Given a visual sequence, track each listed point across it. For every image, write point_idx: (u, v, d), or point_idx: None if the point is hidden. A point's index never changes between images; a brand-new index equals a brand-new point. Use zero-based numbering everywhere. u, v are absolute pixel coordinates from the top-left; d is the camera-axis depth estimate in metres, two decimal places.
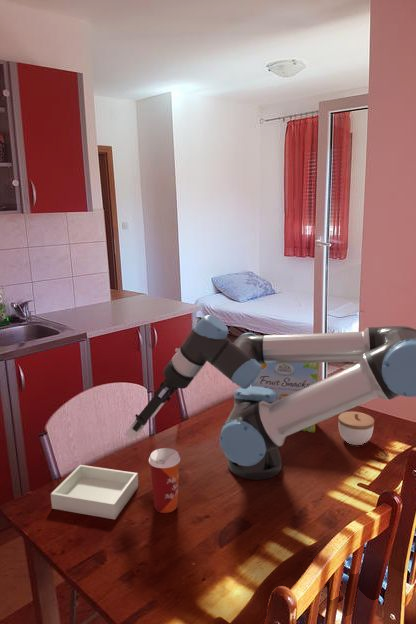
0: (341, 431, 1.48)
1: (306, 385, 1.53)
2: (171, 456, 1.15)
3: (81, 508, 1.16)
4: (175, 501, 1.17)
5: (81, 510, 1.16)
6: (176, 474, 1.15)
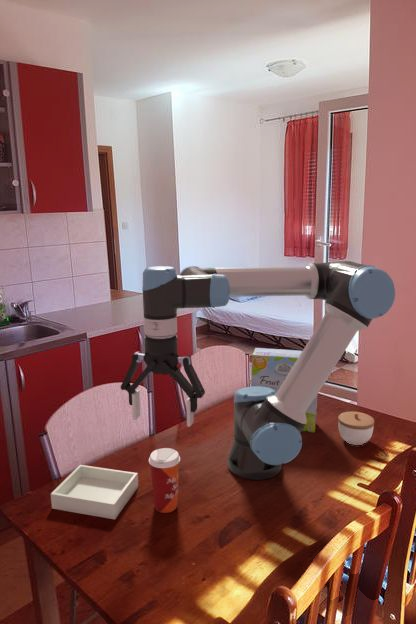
0: (341, 431, 1.48)
1: None
2: (171, 456, 1.15)
3: (81, 508, 1.16)
4: (175, 501, 1.17)
5: (81, 510, 1.16)
6: (176, 474, 1.15)
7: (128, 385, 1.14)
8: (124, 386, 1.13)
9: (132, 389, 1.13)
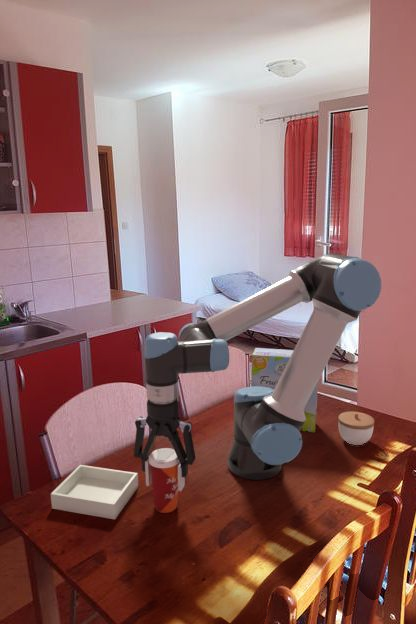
0: (341, 431, 1.48)
1: None
2: (171, 456, 1.15)
3: (81, 508, 1.16)
4: (175, 501, 1.17)
5: (81, 510, 1.16)
6: (176, 474, 1.15)
7: (141, 452, 1.17)
8: (137, 453, 1.16)
9: (144, 456, 1.16)
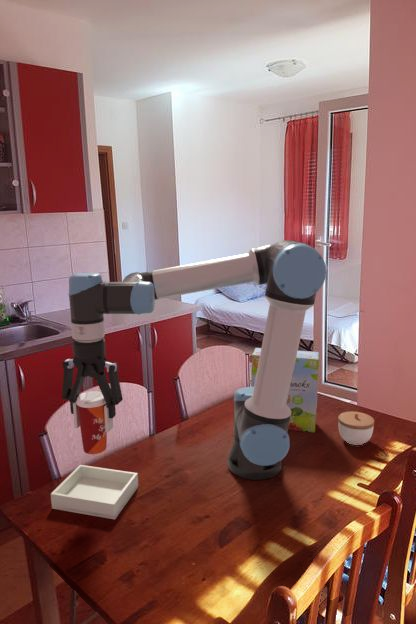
0: (341, 431, 1.48)
1: (306, 385, 1.53)
2: (98, 397, 1.15)
3: (81, 508, 1.16)
4: (103, 443, 1.17)
5: (81, 510, 1.16)
6: (103, 415, 1.16)
7: None
8: (65, 395, 1.17)
9: (72, 397, 1.16)
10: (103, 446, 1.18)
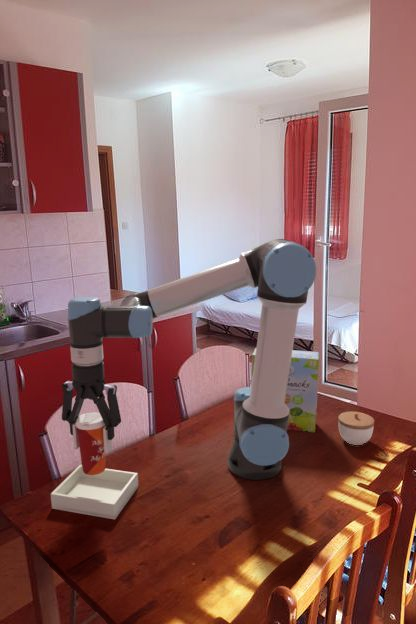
0: (341, 431, 1.48)
1: (306, 385, 1.53)
2: (97, 419, 1.17)
3: (81, 508, 1.16)
4: (102, 464, 1.19)
5: (81, 510, 1.16)
6: (102, 437, 1.17)
7: (69, 416, 1.19)
8: (64, 417, 1.18)
9: (72, 419, 1.18)
10: (102, 467, 1.19)
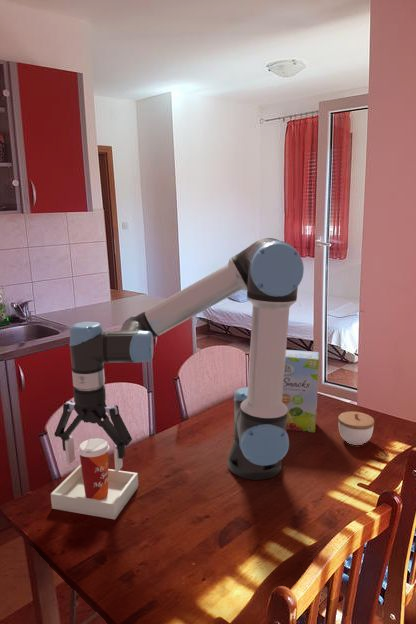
0: (341, 431, 1.48)
1: (306, 385, 1.53)
2: (99, 446, 1.18)
3: (81, 508, 1.16)
4: (104, 489, 1.20)
5: (81, 510, 1.16)
6: (104, 463, 1.19)
7: (62, 432, 1.21)
8: (57, 433, 1.20)
9: (65, 436, 1.20)
10: (104, 493, 1.21)
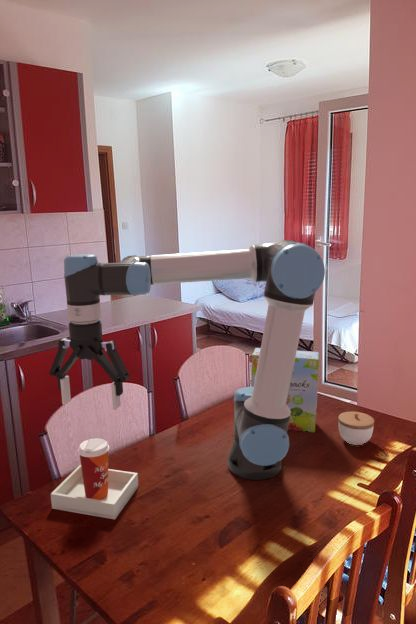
0: (341, 431, 1.48)
1: (306, 385, 1.53)
2: (99, 446, 1.18)
3: (81, 508, 1.16)
4: (104, 490, 1.20)
5: (81, 510, 1.16)
6: (104, 463, 1.19)
7: (57, 371, 1.17)
8: (53, 372, 1.16)
9: (60, 374, 1.16)
10: (104, 493, 1.21)
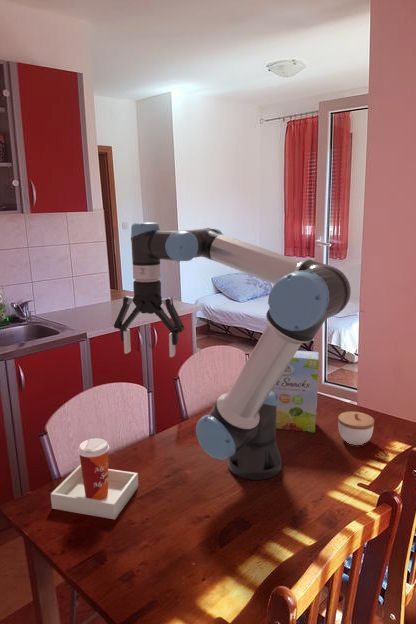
0: (341, 431, 1.48)
1: (306, 385, 1.53)
2: (99, 446, 1.18)
3: (81, 508, 1.16)
4: (104, 490, 1.20)
5: (81, 510, 1.16)
6: (104, 463, 1.19)
7: (120, 324, 1.36)
8: (117, 325, 1.35)
9: (123, 327, 1.35)
10: (104, 493, 1.21)
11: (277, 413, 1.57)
